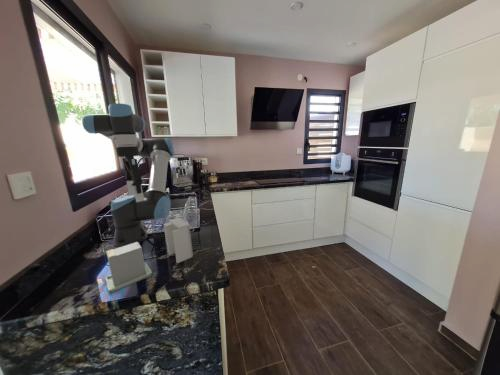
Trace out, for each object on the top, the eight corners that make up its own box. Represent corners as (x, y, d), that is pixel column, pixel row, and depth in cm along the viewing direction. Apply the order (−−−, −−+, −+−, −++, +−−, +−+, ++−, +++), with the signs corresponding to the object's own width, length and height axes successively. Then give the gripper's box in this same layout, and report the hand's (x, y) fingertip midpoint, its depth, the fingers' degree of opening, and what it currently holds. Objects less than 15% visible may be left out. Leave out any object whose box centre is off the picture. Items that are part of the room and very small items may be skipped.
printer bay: (167, 252, 89) (163, 221, 85) (182, 247, 93) (178, 217, 90) (177, 263, 80) (172, 229, 77) (193, 256, 85) (189, 224, 82)
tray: (105, 279, 72) (105, 277, 72) (145, 264, 81) (145, 261, 80) (109, 293, 65) (108, 290, 65) (152, 275, 74) (152, 272, 73)
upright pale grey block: (112, 278, 72) (106, 250, 69) (142, 266, 78) (137, 240, 76) (114, 286, 67) (108, 257, 65) (146, 273, 74) (141, 246, 71)
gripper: (111, 146, 84) (120, 194, 89) (121, 146, 65) (132, 206, 70) (131, 146, 89) (139, 191, 93) (145, 145, 70) (154, 201, 75)
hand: (136, 198), depth 82 cm, fingers open, 13 cm apart
